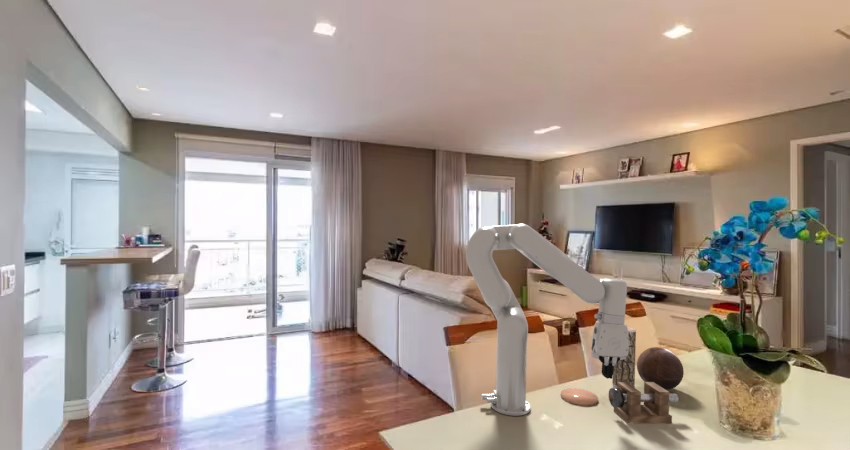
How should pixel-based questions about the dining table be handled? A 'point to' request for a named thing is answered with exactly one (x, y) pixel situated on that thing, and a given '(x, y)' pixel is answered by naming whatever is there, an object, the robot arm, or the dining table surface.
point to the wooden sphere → (660, 367)
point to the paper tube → (626, 363)
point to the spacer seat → (579, 396)
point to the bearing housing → (649, 410)
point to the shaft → (619, 398)
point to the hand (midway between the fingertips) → (607, 376)
